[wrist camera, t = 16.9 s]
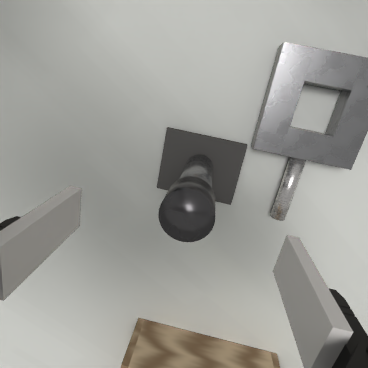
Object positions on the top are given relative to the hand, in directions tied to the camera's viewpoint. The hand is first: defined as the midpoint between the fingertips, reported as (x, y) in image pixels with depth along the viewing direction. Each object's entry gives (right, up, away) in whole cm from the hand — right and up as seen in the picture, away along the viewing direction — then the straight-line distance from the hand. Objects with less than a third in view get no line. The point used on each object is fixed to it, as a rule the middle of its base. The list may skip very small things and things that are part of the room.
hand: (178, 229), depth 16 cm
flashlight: (+2, +5, +16) cm, 17 cm away
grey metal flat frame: (+14, +8, +15) cm, 22 cm away
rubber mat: (+2, +5, +17) cm, 18 cm away
